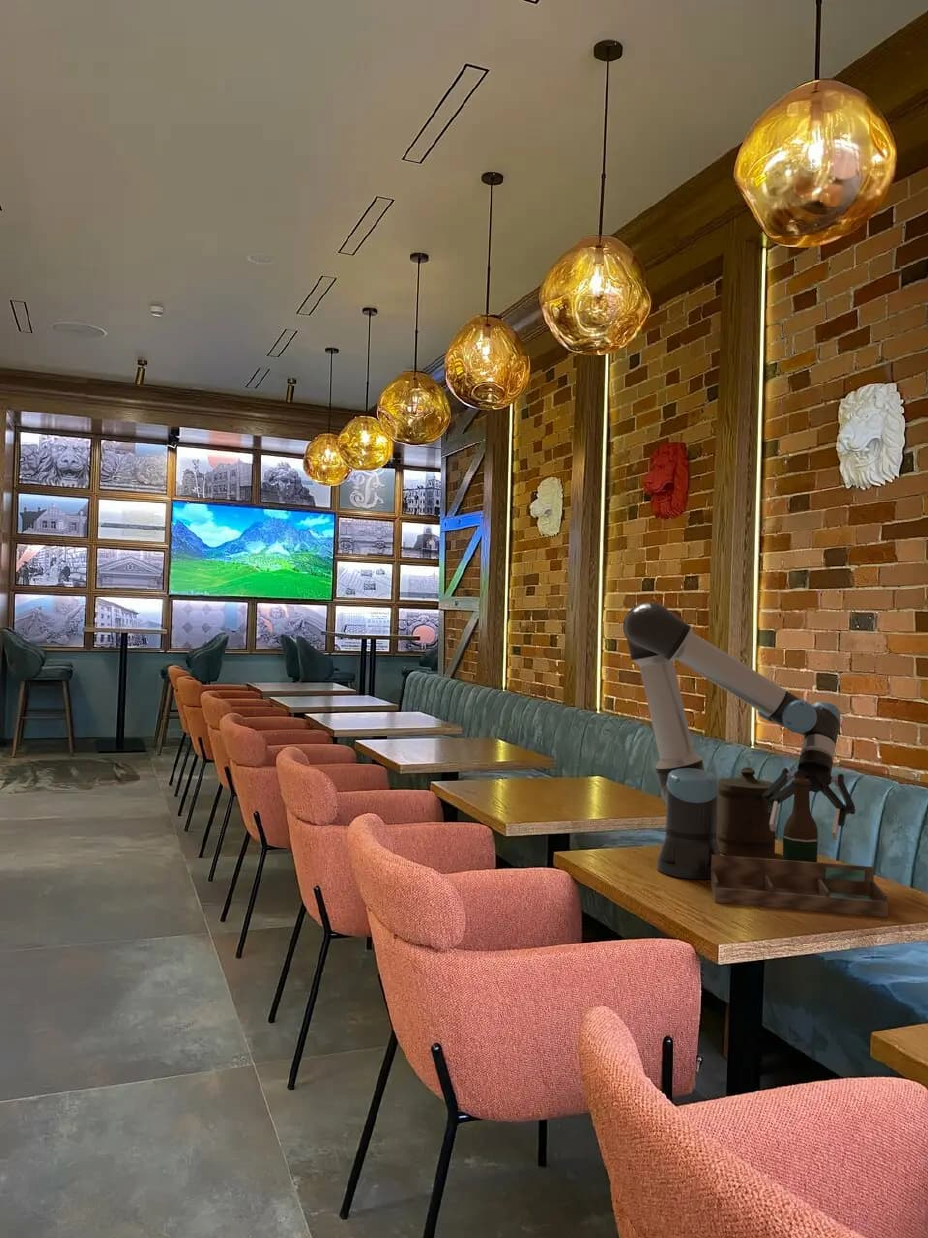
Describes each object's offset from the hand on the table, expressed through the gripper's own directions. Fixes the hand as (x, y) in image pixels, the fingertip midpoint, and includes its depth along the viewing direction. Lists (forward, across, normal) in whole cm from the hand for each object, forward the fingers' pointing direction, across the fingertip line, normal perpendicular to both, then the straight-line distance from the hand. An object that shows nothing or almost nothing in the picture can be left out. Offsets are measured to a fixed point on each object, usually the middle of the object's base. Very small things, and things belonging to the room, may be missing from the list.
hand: (802, 832), depth 211 cm
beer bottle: (+8, 0, -9) cm, 12 cm away
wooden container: (-9, +19, -26) cm, 34 cm away
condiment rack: (+18, -1, +1) cm, 18 cm away
